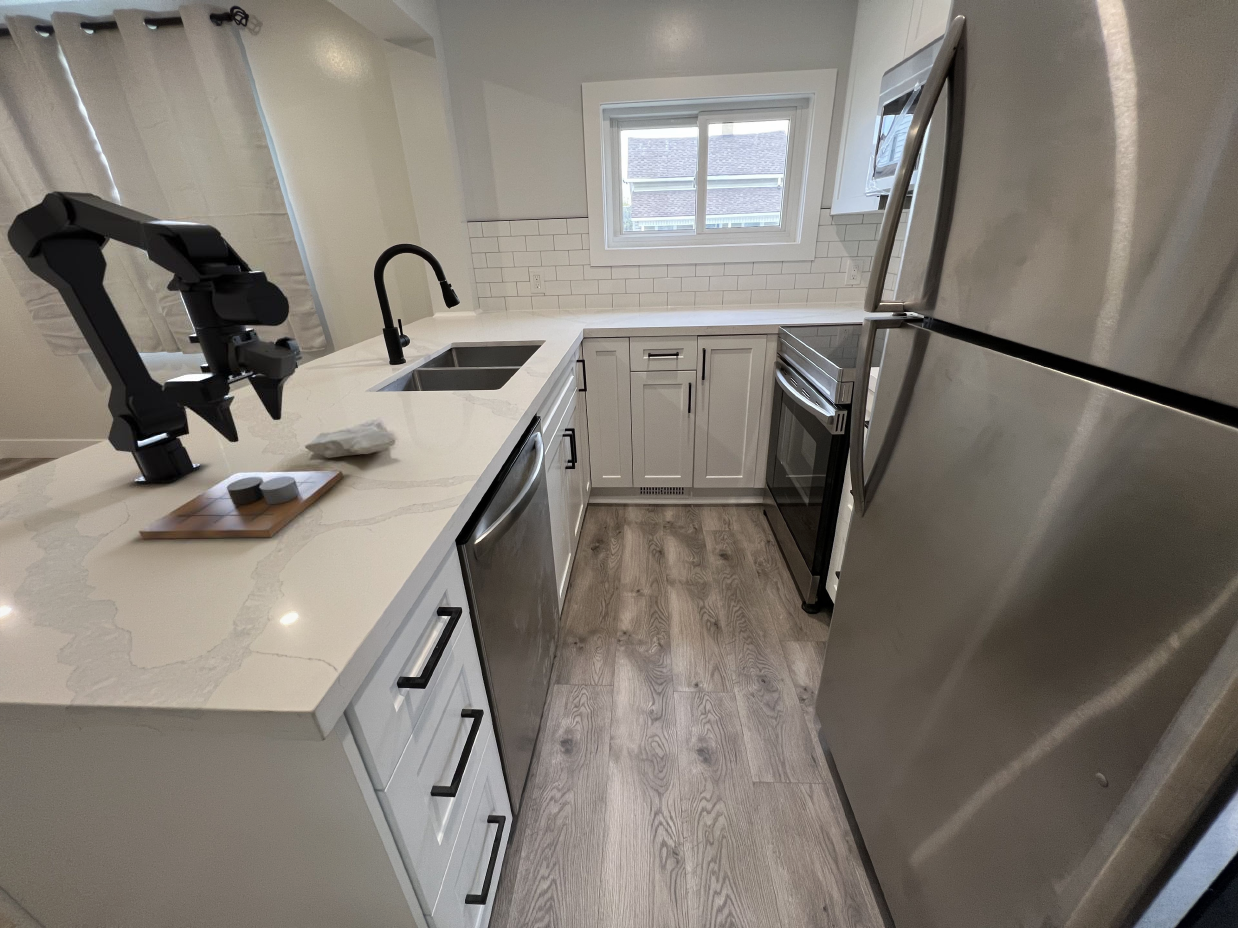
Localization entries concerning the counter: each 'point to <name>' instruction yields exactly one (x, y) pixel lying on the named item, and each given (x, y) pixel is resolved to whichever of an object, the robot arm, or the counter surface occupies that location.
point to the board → (240, 510)
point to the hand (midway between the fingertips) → (257, 430)
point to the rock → (353, 440)
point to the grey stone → (279, 490)
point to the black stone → (245, 490)
